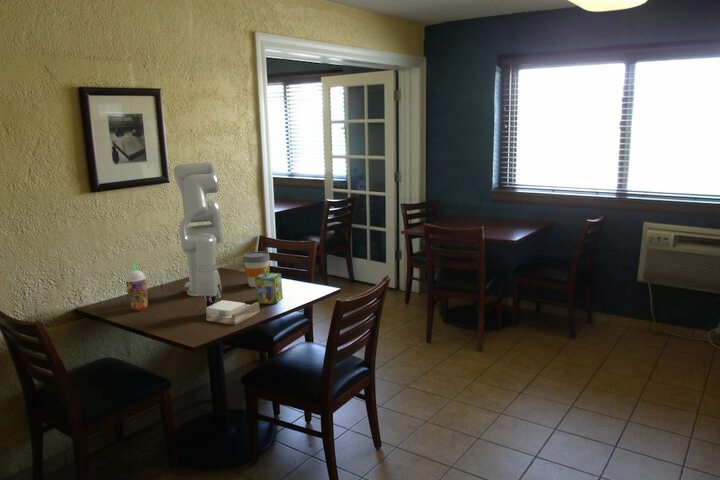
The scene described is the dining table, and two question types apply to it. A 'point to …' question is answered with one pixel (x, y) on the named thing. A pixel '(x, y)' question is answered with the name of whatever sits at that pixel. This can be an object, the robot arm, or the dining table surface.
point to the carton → (225, 308)
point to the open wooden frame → (235, 315)
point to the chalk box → (268, 287)
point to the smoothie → (137, 290)
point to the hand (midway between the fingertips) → (211, 310)
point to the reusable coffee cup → (255, 265)
